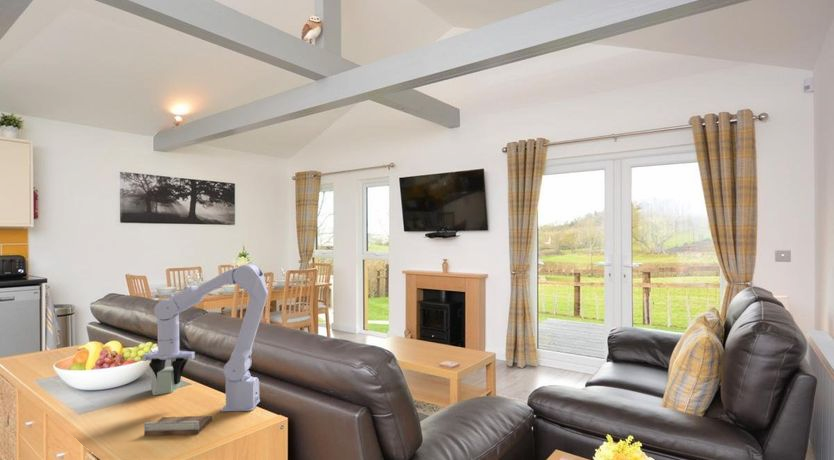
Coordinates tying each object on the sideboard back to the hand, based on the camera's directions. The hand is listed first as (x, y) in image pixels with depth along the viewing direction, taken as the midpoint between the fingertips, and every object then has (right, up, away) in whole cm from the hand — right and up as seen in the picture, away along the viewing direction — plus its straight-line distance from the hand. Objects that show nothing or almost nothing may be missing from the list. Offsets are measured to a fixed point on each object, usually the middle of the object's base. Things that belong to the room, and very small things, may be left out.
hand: (169, 383), depth 134 cm
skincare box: (-13, -9, +18) cm, 23 cm away
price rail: (+9, -7, -16) cm, 20 cm away
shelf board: (+9, -8, -12) cm, 17 cm away
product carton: (0, -2, 0) cm, 2 cm away
